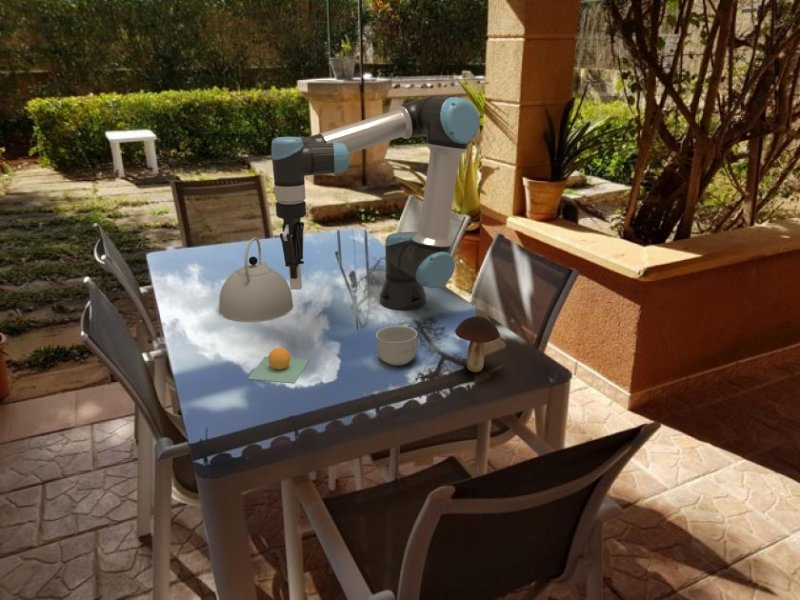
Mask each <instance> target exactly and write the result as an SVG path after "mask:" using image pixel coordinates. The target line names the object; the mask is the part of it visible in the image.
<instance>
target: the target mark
mask: <svg viewBox="0 0 800 600" xmlns="http://www.w3.org/2000/svg"><path fill="white" fill-rule="evenodd" d="M268 357H269V356H264V357H263V358H262V359H261V361H260V362H259V363H258V365H257V366H256V367H255V368H254V370H253V371H252V372H251V373H250V374H249V376H248V377H247V380H252V381H263V382H265V381H266V382H273V383H275V382H276V383H286V384H296V382H297V380H299V378H300V376H301V375H302V373H303V371H304V369H305V368H306V367H307V365H308V364H309V362H310V360H309V359H299V358H298V359H296V358H290V363H289V365H288V366H287V367H286V368H284V369H275V368H273V367H272V366H271V365H270V364H269V361H268Z"/></svg>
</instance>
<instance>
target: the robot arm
mask: <svg viewBox="0 0 800 600" xmlns="http://www.w3.org/2000/svg"><path fill="white" fill-rule="evenodd" d="M479 128H480V116H479V112H478V110H477V108H476V107H475V105H474V104H473V102H471V101H469V100H468V99H465V98H461V97H458V96H444V95H443V96H441V95H429V96H424V97H421V98H418V99H414V100H412V101H410V102H406V103H403V104H400V105H397V106H395V108H394V110H393V111H390V112H386V113H382V114H380V115H375V116H372V117H369V118H366V119H363V120H360V121H356V122H352V123H349V124H346V125H343V126H340V127H336V128H332V129H330V130H326V131H323V132H319V133H318V134H314V135H310V136H279V137H274V138H273V139H272V141H271V161H272V163H271V164H272V172H273V185H274V187H272V191H274V197H275V198H274V199H275V201H276V202H275V212H276V217H277V218H279V219H282V221H283V223H282V227H281V228H282V232H283V233H281V232H280V234H279V238H280V241H281V246H282V251H283V258H284V263H285V265H284V266H285V267H287V268H288V270H289V271H288V273H289V287H290V290H293V291H294V290H297V291H301V290H302V288H303V283H302V280H303V279H302V267H301V266H302V265H304V263H305V261H304V260H303V259H304V230H305V228H304V227H305V222H304V221H301V219H302V218H304V217H306V215H307V203H306V201H305V200H306V184H305V176H318V175H330V174H334V175H336V174H338V173H339V174H340V173H343V172H346V171H347V170H348V168H349V167H350V154H352V153H356V152H358V151H362V150H365V149H368V148H371V147H374V146H377V145H381V144H384V143H388V142H390V141H393V140H397V139H399V138H403V139H405V140H408V139H411V138H415V137H426V142H425V145H426V146H427V147H428V148H427V149H429V158H428V163H427V165H428V166H427V172H426V180H425V184H424V185H425V186H424V191H423V193H424V194H423V199H422V205H421V212H420V220H419V224H418V225H419V226H418V232H416V231H402V232H393V233H390V234H389V235H387V236H386V238H385V244H384V245H385V246H384V247H385V276H384V277H385V280H384V282H383V285H382V289H381V291H380V293H379V294H380V295H379V303H380V305H382V306H383V307H386V308H387V309H391V308H392V310H397V309H399V310H398V311H410V310H416V309H419V308H421V307H423V305H424V304H425V305H426V303H427V294H426V291H425V288H424V287H426V288H429V289H438V288H441V287H443V286H444V285H446V283H447V282H449V281H450V280H451V278H452V277H453V275H454V272H455V268H456V263H455V259H454V258H453V255H451V254H450V251H451V247H452V246H451V245H452V243H451V242H450V240H449V239H448V233H449V226H450V220H451V214H452V207H453V202H454V196H455V191H456V183H457V178H458V172H459V165H460V160H461V156H462V154H464V153H465V152H466V151H467V150H468V144H469V142H471V141H472V140H473V139H474V137H476V135H477V134H478V131H479V130H480V129H479ZM425 305H424V306H425Z"/></svg>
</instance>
